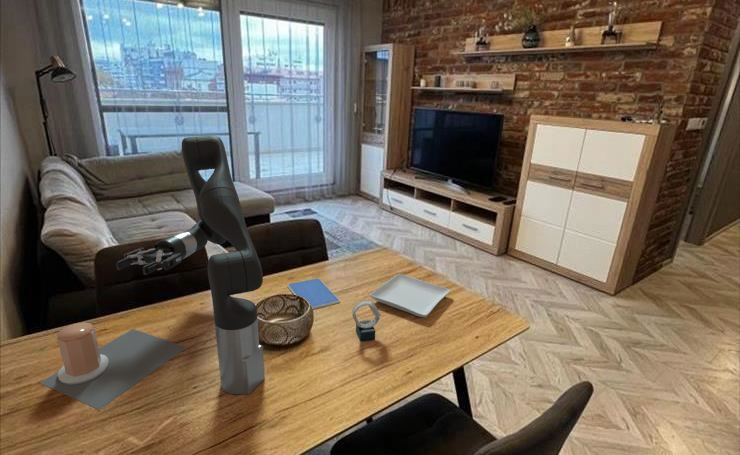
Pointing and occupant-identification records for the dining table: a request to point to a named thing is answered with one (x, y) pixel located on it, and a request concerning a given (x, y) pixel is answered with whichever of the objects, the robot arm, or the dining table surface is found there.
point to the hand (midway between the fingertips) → (130, 268)
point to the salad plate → (410, 294)
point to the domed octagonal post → (79, 349)
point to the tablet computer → (314, 293)
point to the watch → (366, 322)
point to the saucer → (80, 379)
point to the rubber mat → (120, 368)
